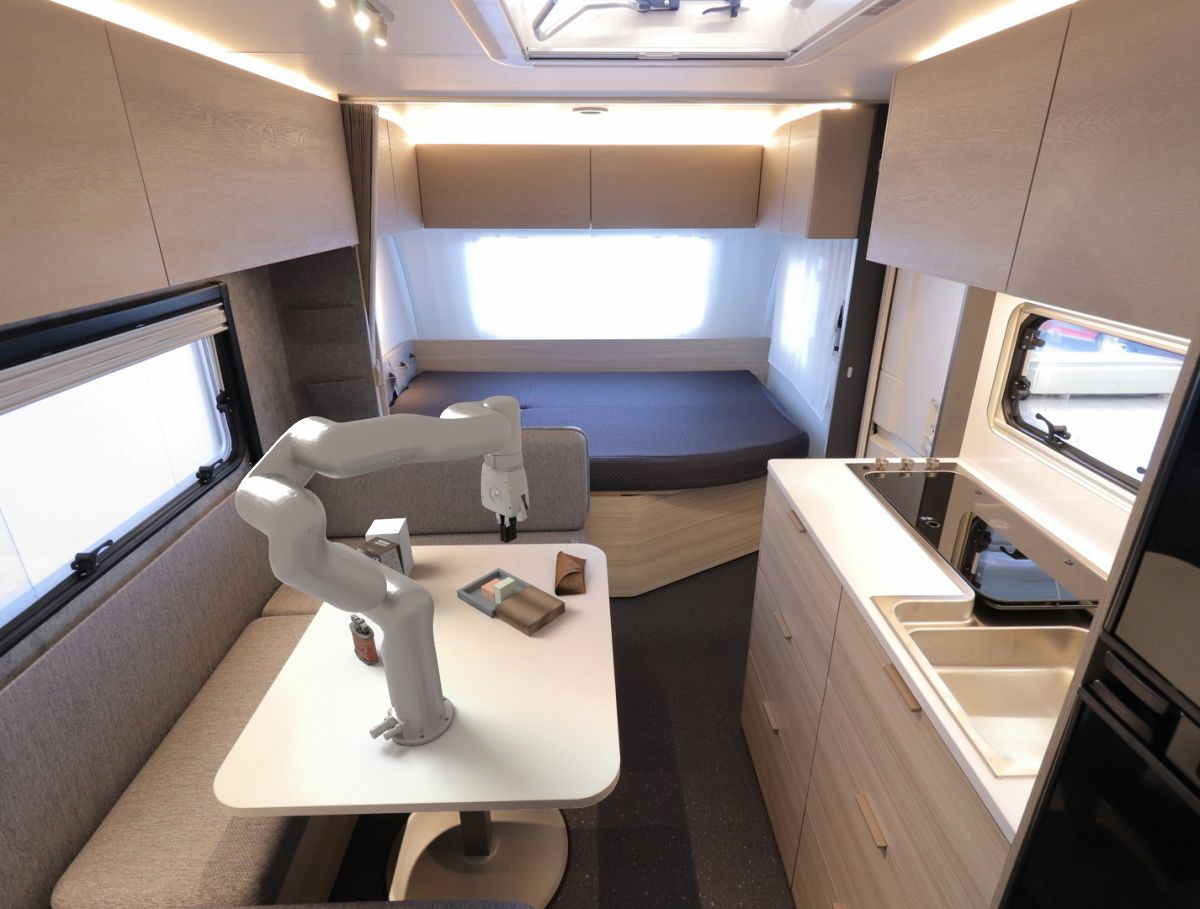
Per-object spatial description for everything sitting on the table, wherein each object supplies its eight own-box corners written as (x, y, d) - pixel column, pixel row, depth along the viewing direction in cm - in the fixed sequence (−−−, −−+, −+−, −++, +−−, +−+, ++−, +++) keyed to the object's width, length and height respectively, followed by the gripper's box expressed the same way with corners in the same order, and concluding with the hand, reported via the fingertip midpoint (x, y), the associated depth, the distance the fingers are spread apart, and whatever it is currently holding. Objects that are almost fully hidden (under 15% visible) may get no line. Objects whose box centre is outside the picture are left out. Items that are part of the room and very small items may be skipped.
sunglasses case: (588, 594, 159) (573, 575, 156) (565, 607, 160) (550, 589, 158) (586, 558, 175) (573, 541, 173) (565, 570, 177) (552, 553, 174)
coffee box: (410, 598, 159) (401, 544, 154) (390, 611, 154) (380, 555, 148) (386, 588, 164) (377, 535, 158) (366, 600, 159) (355, 546, 153)
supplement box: (415, 563, 175) (407, 517, 170) (407, 581, 167) (399, 532, 162) (382, 565, 175) (374, 518, 170) (373, 583, 167) (364, 534, 161)
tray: (492, 618, 151) (491, 611, 150) (457, 597, 159) (456, 590, 159) (534, 592, 160) (533, 586, 160) (499, 574, 169) (498, 567, 168)
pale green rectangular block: (499, 588, 153) (493, 585, 154) (501, 605, 155) (495, 602, 156) (515, 580, 156) (508, 576, 158) (516, 596, 158) (510, 593, 160)
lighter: (382, 660, 137) (375, 623, 134) (368, 668, 135) (360, 630, 132) (365, 644, 143) (357, 608, 139) (351, 652, 140) (343, 615, 137)
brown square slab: (529, 636, 144) (528, 625, 143) (496, 616, 151) (495, 606, 150) (565, 612, 152) (564, 602, 151) (532, 594, 159) (531, 584, 158)
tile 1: (481, 586, 158) (482, 594, 159) (493, 593, 155) (494, 601, 156) (496, 578, 162) (497, 586, 163) (508, 584, 159) (509, 593, 160)
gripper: (464, 455, 125) (471, 536, 131) (515, 472, 116) (520, 558, 122) (492, 445, 130) (498, 523, 137) (543, 461, 121) (546, 543, 128)
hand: (508, 539), depth 129 cm, fingers closed
